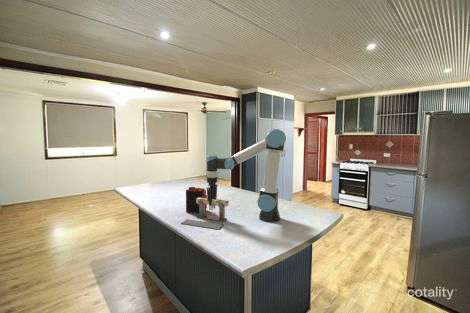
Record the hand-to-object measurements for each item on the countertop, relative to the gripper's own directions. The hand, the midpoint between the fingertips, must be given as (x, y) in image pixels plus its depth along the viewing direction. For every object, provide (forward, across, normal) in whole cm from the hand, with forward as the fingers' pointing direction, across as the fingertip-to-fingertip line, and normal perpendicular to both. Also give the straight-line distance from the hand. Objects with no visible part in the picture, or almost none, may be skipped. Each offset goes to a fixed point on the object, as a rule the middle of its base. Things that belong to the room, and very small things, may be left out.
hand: (212, 208), depth 165 cm
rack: (+7, 0, 0) cm, 7 cm away
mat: (+7, +13, -1) cm, 15 cm away
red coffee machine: (+7, -11, -19) cm, 23 cm away
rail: (-3, 0, 0) cm, 3 cm away
